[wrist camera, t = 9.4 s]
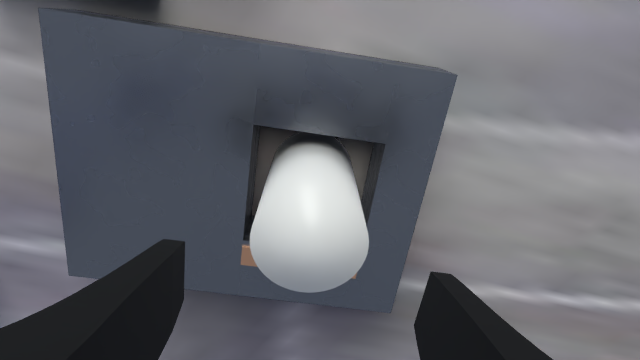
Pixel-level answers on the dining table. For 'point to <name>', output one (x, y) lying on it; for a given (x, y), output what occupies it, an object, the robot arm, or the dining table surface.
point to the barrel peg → (310, 217)
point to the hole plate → (224, 145)
